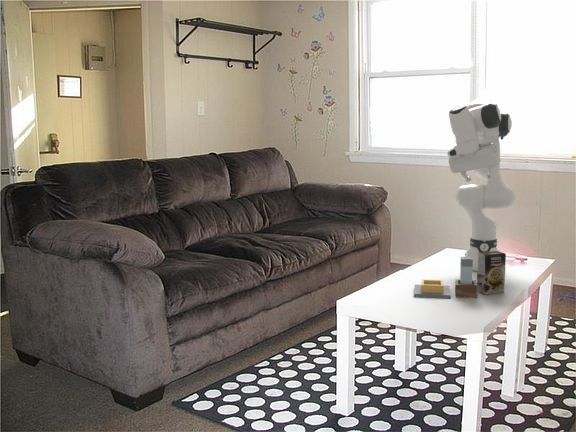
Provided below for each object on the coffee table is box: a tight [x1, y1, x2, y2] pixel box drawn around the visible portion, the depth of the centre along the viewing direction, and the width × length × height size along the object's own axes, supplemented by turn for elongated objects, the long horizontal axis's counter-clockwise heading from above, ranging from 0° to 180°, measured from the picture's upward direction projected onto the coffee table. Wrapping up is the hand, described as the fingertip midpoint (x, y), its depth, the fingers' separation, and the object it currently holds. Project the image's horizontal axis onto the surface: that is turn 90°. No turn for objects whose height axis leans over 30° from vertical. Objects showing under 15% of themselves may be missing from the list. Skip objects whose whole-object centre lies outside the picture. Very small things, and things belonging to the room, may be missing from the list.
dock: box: [413, 279, 451, 299], centre depth 256 cm, size 14×14×4 cm
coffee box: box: [476, 251, 507, 295], centre depth 255 cm, size 9×6×16 cm
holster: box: [454, 279, 478, 299], centre depth 252 cm, size 8×8×5 cm
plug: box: [459, 256, 474, 285], centre depth 251 cm, size 4×4×15 cm
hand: (479, 179), depth 252 cm, fingers open, 8 cm apart
